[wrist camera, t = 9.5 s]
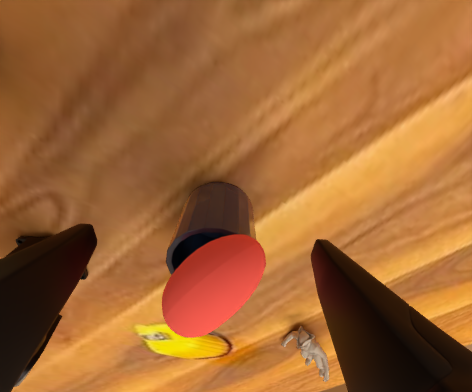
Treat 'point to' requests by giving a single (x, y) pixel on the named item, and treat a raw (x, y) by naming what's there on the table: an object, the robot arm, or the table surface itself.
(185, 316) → the stress ball
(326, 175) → the table surface
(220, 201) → the cup
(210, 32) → the table surface
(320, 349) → the soldier figure
